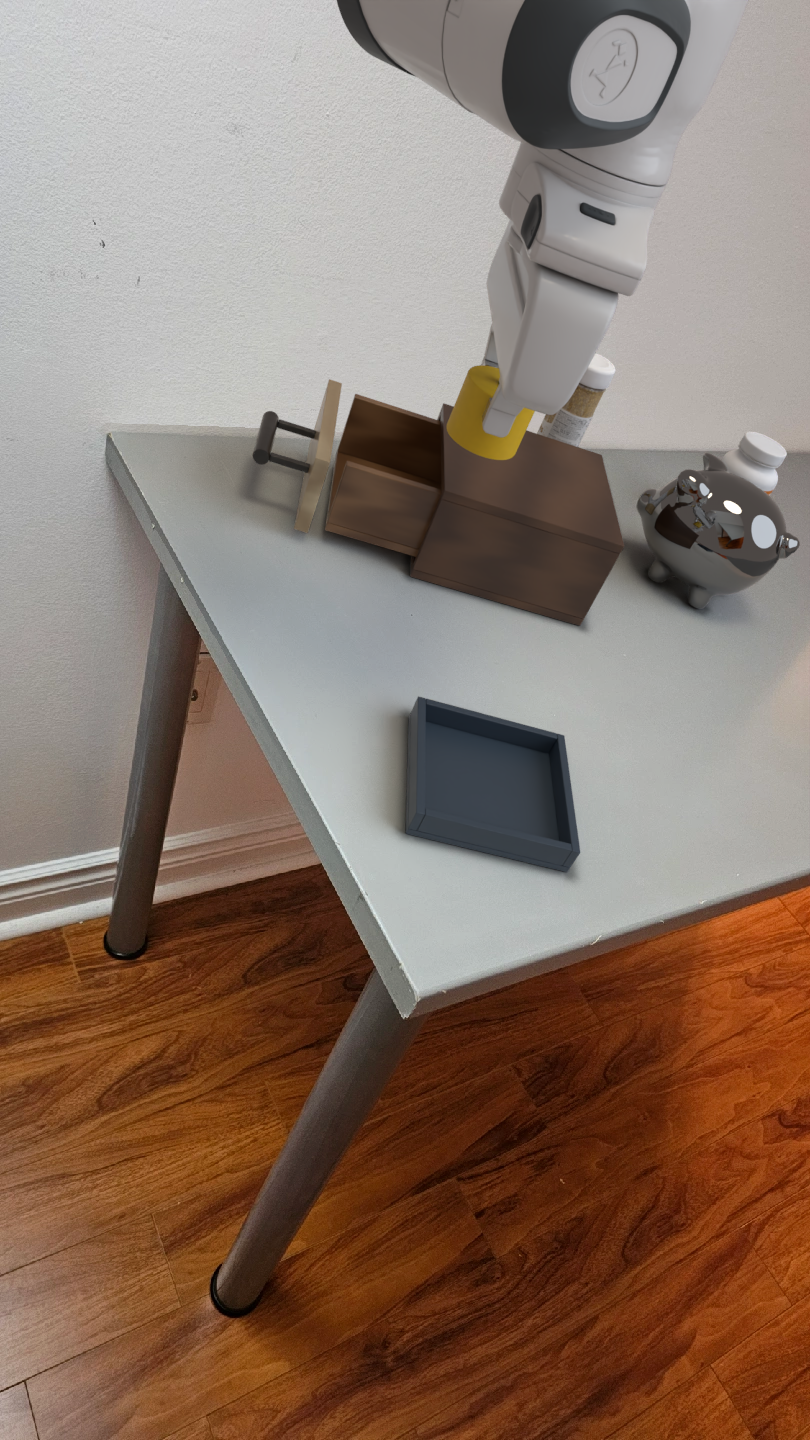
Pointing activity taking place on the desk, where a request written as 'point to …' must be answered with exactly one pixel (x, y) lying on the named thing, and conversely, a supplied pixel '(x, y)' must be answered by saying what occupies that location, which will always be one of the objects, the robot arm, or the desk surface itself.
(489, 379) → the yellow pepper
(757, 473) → the pill bottle
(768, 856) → the desk surface
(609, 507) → the cabinet
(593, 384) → the sprinkles bottle
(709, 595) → the piggy bank
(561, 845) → the tray
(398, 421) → the drawer
